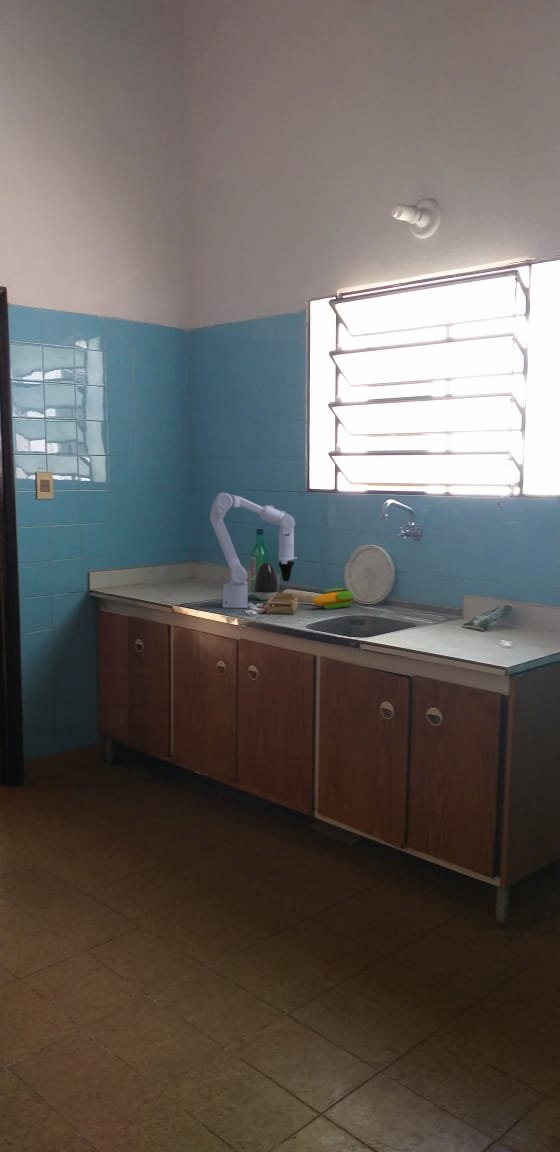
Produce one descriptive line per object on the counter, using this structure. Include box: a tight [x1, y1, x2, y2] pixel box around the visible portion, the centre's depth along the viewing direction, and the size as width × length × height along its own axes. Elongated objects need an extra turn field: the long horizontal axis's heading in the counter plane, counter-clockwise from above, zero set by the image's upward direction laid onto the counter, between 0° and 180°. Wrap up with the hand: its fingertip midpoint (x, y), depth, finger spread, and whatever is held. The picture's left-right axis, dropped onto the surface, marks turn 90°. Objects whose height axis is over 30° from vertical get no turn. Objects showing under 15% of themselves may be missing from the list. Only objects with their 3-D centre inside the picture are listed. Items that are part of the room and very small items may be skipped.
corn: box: [312, 587, 354, 610], centre depth 350 cm, size 7×8×20 cm
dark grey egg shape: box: [253, 561, 280, 601], centre depth 371 cm, size 10×10×15 cm
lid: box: [270, 592, 294, 606], centre depth 342 cm, size 14×7×3 cm, turn 173°
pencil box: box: [265, 596, 299, 616], centre depth 342 cm, size 16×10×4 cm, turn 173°
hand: (286, 580), depth 353 cm, fingers closed
